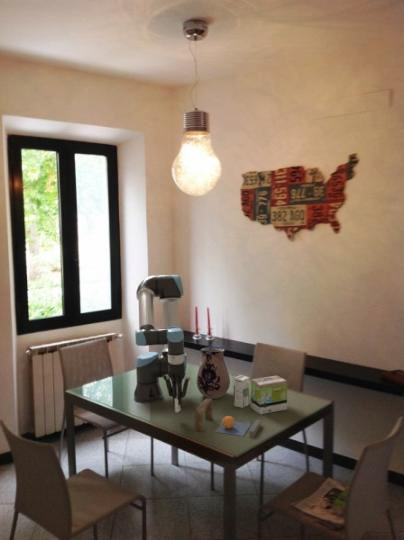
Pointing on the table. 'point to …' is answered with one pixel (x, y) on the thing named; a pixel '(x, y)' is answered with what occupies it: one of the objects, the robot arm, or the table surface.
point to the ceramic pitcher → (213, 373)
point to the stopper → (255, 428)
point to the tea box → (268, 394)
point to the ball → (228, 422)
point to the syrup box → (241, 391)
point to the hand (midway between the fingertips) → (177, 410)
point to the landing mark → (234, 429)
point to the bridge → (199, 410)
